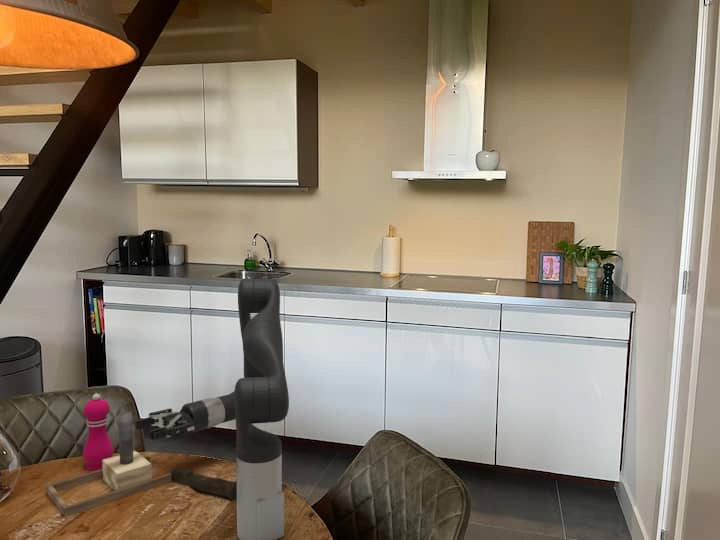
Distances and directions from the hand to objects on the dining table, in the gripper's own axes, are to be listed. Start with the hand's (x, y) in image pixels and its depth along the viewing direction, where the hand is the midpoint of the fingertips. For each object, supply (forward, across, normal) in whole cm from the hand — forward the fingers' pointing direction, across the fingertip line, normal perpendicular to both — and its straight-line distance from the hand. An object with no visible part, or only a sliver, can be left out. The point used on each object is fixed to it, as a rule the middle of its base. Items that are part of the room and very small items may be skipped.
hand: (142, 430), depth 140 cm
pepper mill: (+6, -14, +13) cm, 20 cm away
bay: (+8, 0, +13) cm, 15 cm away
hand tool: (-8, +14, +14) cm, 21 cm away
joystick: (+4, 0, +12) cm, 12 cm away
